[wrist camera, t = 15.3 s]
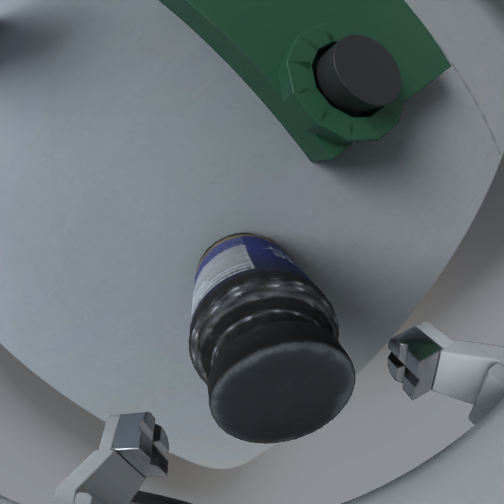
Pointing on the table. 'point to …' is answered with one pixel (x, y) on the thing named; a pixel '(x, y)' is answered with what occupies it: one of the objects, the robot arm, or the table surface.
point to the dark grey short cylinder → (358, 74)
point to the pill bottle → (265, 343)
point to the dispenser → (314, 59)
